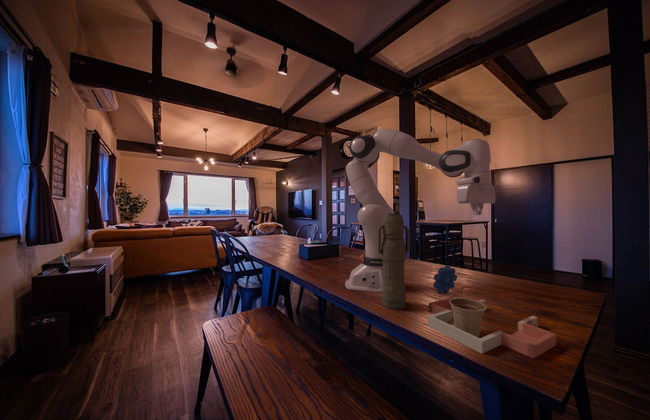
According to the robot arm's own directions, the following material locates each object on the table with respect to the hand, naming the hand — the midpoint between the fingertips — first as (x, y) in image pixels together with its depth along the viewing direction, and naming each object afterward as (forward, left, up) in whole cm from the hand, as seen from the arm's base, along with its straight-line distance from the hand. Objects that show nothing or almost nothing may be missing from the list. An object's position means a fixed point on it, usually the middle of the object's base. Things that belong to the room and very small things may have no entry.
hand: (477, 215), depth 95 cm
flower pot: (-16, -27, -34) cm, 47 cm away
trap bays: (-9, -22, -34) cm, 42 cm away
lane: (-1, -17, -34) cm, 38 cm away
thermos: (-34, -8, -34) cm, 49 cm away
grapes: (-10, +8, -34) cm, 37 cm away
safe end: (-17, -27, -34) cm, 47 cm away
